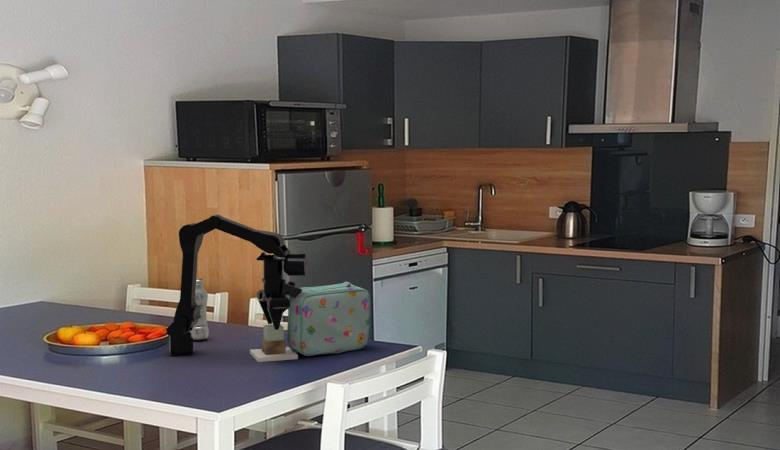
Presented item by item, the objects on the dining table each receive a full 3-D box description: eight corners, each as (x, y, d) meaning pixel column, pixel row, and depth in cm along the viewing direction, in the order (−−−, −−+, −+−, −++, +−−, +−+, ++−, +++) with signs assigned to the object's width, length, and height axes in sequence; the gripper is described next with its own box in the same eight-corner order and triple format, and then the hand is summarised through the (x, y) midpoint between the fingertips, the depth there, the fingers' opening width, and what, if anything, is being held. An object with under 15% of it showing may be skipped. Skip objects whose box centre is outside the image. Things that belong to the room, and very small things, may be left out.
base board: (258, 362, 270) (258, 358, 270) (249, 353, 282) (249, 349, 282) (297, 359, 274) (297, 355, 274) (288, 350, 286) (288, 346, 286)
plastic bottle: (206, 342, 298) (205, 280, 296) (185, 342, 298) (184, 280, 296) (210, 338, 304) (210, 278, 302) (190, 337, 304) (189, 277, 303)
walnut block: (265, 355, 274) (265, 341, 274) (261, 350, 280) (261, 337, 279) (285, 353, 276) (285, 340, 276) (281, 349, 282) (281, 336, 281)
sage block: (267, 341, 274) (267, 328, 274) (263, 338, 279) (263, 325, 279) (283, 340, 276) (283, 327, 276) (279, 337, 281) (279, 324, 281)
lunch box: (356, 343, 297) (356, 277, 295) (374, 349, 289) (375, 281, 287) (284, 354, 281) (283, 284, 280) (301, 360, 273) (301, 288, 271)
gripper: (307, 278, 270) (307, 330, 271) (291, 270, 287) (292, 319, 289) (269, 280, 266) (270, 333, 267) (256, 271, 284) (256, 321, 285)
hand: (273, 326), depth 277 cm, fingers open, 9 cm apart
